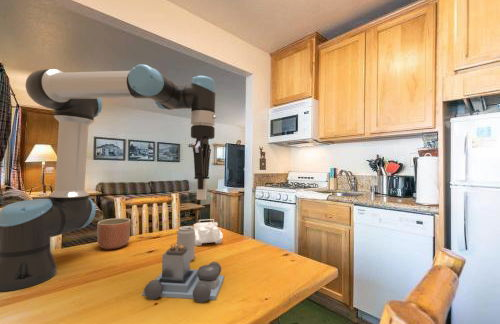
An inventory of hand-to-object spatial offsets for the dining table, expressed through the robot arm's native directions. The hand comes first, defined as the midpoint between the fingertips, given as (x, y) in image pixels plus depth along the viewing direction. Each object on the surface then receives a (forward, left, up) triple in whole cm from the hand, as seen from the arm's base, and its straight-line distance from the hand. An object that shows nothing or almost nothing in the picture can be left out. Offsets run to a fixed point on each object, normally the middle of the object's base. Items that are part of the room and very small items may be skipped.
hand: (201, 199), depth 76 cm
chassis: (-2, -7, -24) cm, 25 cm away
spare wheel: (+4, -7, -23) cm, 24 cm away
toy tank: (-6, +34, -25) cm, 42 cm away
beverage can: (-9, +12, -25) cm, 29 cm away
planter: (-44, +22, -25) cm, 55 cm away
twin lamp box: (-5, -7, -23) cm, 25 cm away
